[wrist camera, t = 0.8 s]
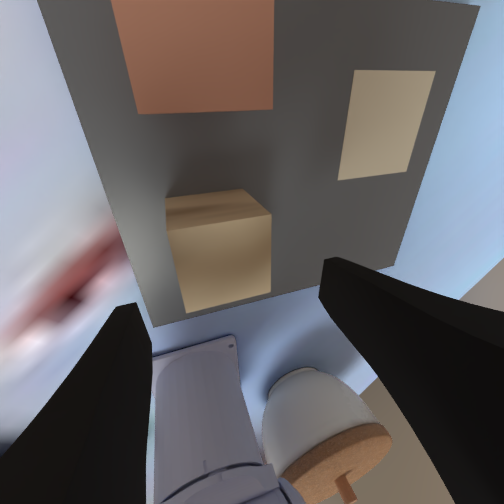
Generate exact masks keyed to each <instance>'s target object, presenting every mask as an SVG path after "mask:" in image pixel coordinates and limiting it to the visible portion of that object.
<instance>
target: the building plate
mask: <svg viewBox="0 0 504 504" xmlns="http://www.w3.org/2000/svg"><path fill="white" fill-rule="evenodd" d="M37 2H38V5H39V7H40V10H41V13H42V16H43V19H44V21H45V24H46V27H47V30H48V33H49V35H50V38H51V41H52V44H53V47H54V49H55V52H56V55H57V58H58V61H59V64H60V66H61V69H62V72H63V75H64V78H65V80H66V83H67V86H68V89H69V92H70V94H71V97H72V100H73V103H74V106H75V109H76V111H77V114H78V117H79V120H80V123H81V125H82V128H83V131H84V134H85V137H86V139H87V142H88V145H89V148H90V151H91V154H92V156H93V159H94V162H95V165H96V168H97V170H98V173H99V176H100V179H101V182H102V184H103V187H104V190H105V193H106V196H107V198H108V201H109V204H110V207H111V210H112V213H113V215H114V218H115V221H116V224H117V227H118V229H119V232H120V235H121V238H122V241H123V243H124V246H125V249H126V252H127V255H128V258H129V260H130V263H131V266H132V269H133V272H134V274H135V277H136V280H137V283H138V286H139V288H140V291H141V294H142V297H143V300H144V303H145V305H146V308H147V311H148V314H149V317H150V319H151V322H152V325H153V328H154V327H158V326H162V325H166V324H170V323H174V322H178V321H181V320H185V319H189V318H193V317H197V316H201V315H205V314H208V313H212V312H216V311H220V310H224V309H228V308H232V307H236V306H239V305H243V304H247V303H251V302H255V301H259V300H263V299H266V298H270V297H274V296H278V295H282V294H286V293H290V292H294V291H297V290H301V289H305V288H309V287H313V286H317V285H320V283H321V276H322V269H323V263H324V259H328V258H332V257H340V258H343V259H346V260H349V261H351V262H354V263H357V264H359V265H362V266H364V267H367V268H369V269H372V270H374V271H375V270H379V269H383V268H386V267H390V266H394V263H395V260H396V257H397V254H398V251H399V248H400V245H401V242H402V239H403V236H404V233H405V230H406V227H407V224H408V221H409V218H410V215H411V212H412V209H413V206H414V203H415V200H416V197H417V194H418V191H419V188H420V185H421V182H422V179H423V176H424V173H425V170H426V167H427V164H428V161H429V158H430V155H431V153H432V150H433V147H434V144H435V141H436V138H437V135H438V132H439V129H440V126H441V123H442V120H443V117H444V114H445V111H446V108H447V105H448V102H449V99H450V96H451V93H452V90H453V87H454V84H455V81H456V78H457V75H458V72H459V69H460V66H461V63H462V60H463V57H464V54H465V51H466V48H467V45H468V42H469V39H470V36H471V33H472V30H473V27H474V24H475V21H476V18H477V15H478V12H479V9H480V6H476V5H467V4H459V3H450V2H442V1H433V0H274V56H273V109H271V110H252V111H229V112H201V113H173V114H138V111H137V107H136V103H135V99H134V95H133V90H132V86H131V82H130V78H129V74H128V70H127V66H126V61H125V57H124V53H123V49H122V45H121V41H120V37H119V32H118V28H117V24H116V20H115V16H114V12H113V8H112V3H111V0H37ZM235 189H244V190H245V191H246V192H247V193H248V194H249V195H250V196H252V197H253V198H254V199H255V200H256V201H257V202H258V203H259V204H261V205H262V206H263V207H264V208H265V209H266V210H267V211H268V212H270V213H271V214H272V223H271V292H269V293H265V294H261V295H257V296H253V297H249V298H245V299H241V300H237V301H234V302H230V303H226V304H222V305H218V306H214V307H210V308H206V309H202V310H198V311H194V312H190V313H186V310H185V306H184V302H183V298H182V293H181V289H180V285H179V281H178V277H177V273H176V269H175V264H174V260H173V256H172V252H171V248H170V244H169V240H168V235H167V231H166V213H165V198H171V197H179V196H187V195H195V194H203V193H211V192H219V191H227V190H235Z"/></svg>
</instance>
